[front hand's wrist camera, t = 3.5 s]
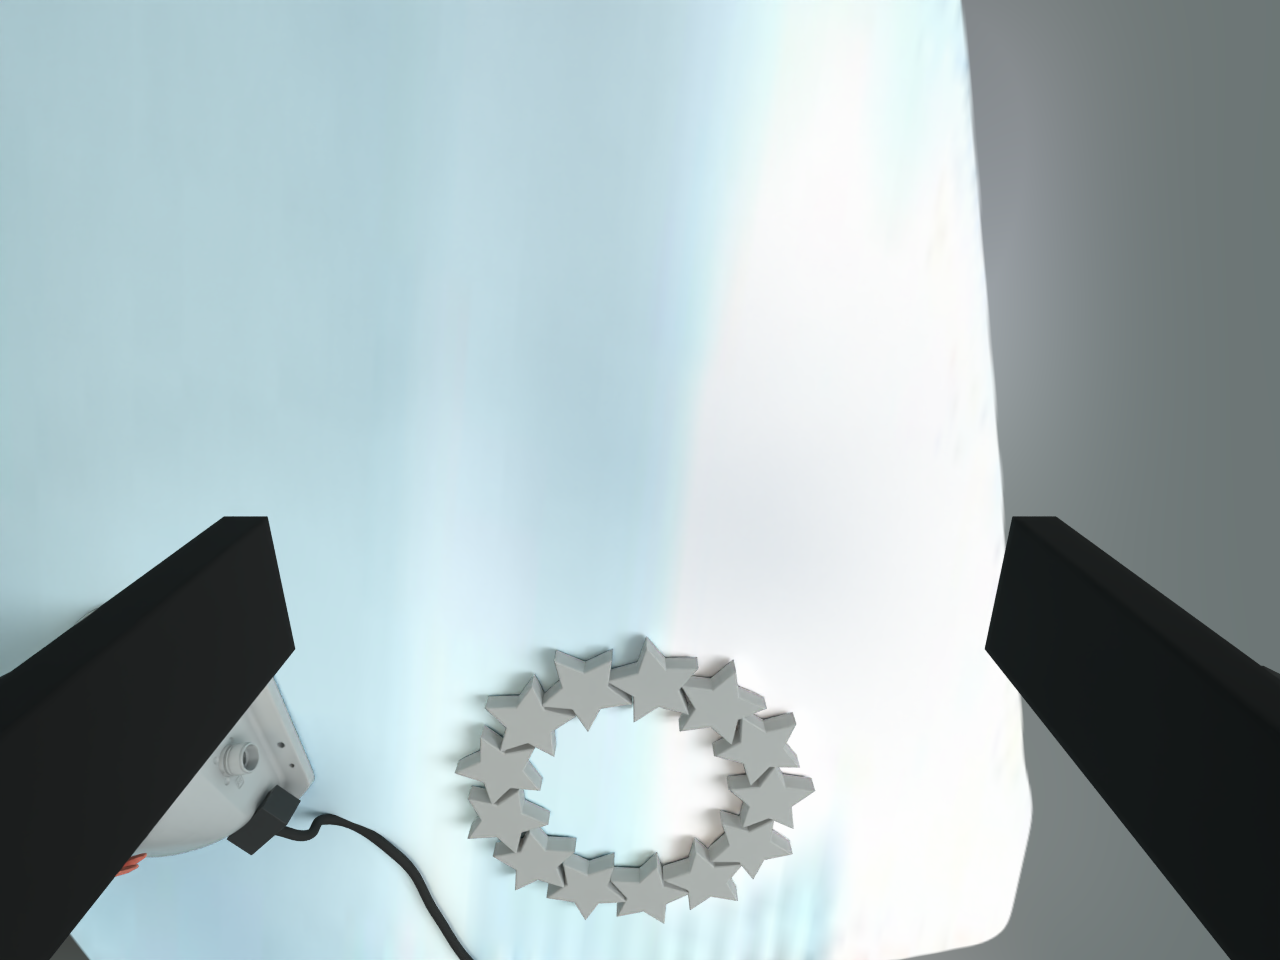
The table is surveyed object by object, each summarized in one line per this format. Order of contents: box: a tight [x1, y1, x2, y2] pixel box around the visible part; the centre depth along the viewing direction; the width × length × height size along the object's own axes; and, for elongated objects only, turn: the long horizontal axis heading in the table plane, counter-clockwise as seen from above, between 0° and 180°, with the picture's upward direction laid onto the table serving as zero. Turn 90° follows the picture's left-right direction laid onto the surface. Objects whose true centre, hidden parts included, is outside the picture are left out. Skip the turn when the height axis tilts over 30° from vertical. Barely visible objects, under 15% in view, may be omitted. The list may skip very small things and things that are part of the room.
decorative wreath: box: [455, 636, 815, 923], centre depth 59 cm, size 30×2×30 cm
